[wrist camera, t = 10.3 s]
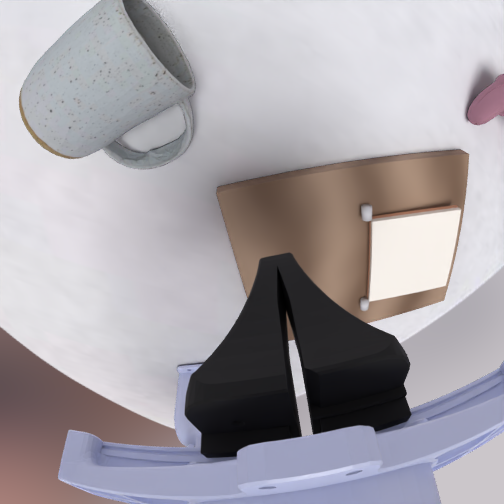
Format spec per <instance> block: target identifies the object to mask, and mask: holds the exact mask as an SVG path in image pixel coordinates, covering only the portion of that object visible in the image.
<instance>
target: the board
mask: <svg viewBox="0 0 504 504" xmlns="http://www.w3.org/2000/svg"><path fill="white" fill-rule="evenodd" d="M468 164H469V154H468V153H466V152H464V151H462V150H447V151H435V152H424V153H414V154H404V155H396V156H387V157H379V158H372V159H364V160H357V161H350V162H344V163H337V164H331V165H325V166H319V167H313V168H307V169H302V170H296V171H291V172H286V173H280V174H275V175H270V176H265V177H260V178H256V179H251V180H246V181H242V182H237V183H233V184H228V185H224V186H219V187H217V192H216V194H217V198H218V201H219V204H220V208H221V211H222V215H223V218H224V222H225V225H226V228H227V232H228V235H229V239H230V242H231V245H232V249H233V252H234V255H235V259H236V262H237V265H238V269H239V272H240V275H241V279H242V282H243V285H244V288H245V292H246V295H247V298H248V296H249V294H250V292H251V289H252V286H253V283H254V280H255V277H256V274H257V270H258V265H259V260H260V259H261V258H264V257H269V256H274V255H279V254H284V253H289V252H290V253H292V254H293V256H294V258H295V260H296V261H297V263H298V264H299V265H300V267H301V268H302V269H303V271H304V272H305V273H306V274H307V275H308V276H309V278H310V279H311V280H312V281H313V282H314V283H315V284H316V285H317V286H318V287H319V288H320V289H321V290H322V291H323V292H324V293H325V294H326V295H327V296H328V297H330V298H331V299H332V300H333V301H334V302H336V303H337V304H338V305H339V306H341V307H342V308H343V309H345V310H346V311H348V312H349V313H351V314H352V315H354V316H356V317H357V318H359V319H360V320H362V321H363V322H365V323H369V322H373V321H377V320H381V319H384V318H388V317H392V316H395V315H399V314H402V313H405V312H409V311H412V310H415V309H419V308H422V307H425V306H428V305H431V304H435V303H438V302H441V301H444V298H445V295H446V291H447V288H448V284H449V280H450V276H451V272H452V268H453V264H454V260H455V255H456V251H457V246H458V241H459V235H460V230H461V224H462V218H463V211H464V204H465V196H466V187H467V177H468ZM363 204H370V205H372V216H378V215H385V214H392V213H399V212H407V211H414V210H421V209H429V208H437V207H444V206H452V205H457V206H458V207H459V208H460V209H461V214H460V221H459V227H458V233H457V238H456V243H455V249H454V253H453V258H452V263H451V267H450V271H449V275H448V279H447V283H446V286H443V287H439V288H434V289H430V290H425V291H421V292H416V293H411V294H406V295H401V296H397V297H391V298H386V299H381V300H376V301H370V302H369V308H368V310H366V311H362V310H361V309H360V300H361V298H362V297H367V288H368V267H369V221H363V220H362V216H361V206H362V205H363ZM286 315H287V312H286ZM287 329H288V341H290V340H295V339H294V336H293V332H292V329H291V326H290V322H289V319H288V315H287Z"/></svg>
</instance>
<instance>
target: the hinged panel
mask: <svg viewBox="0 0 504 504" xmlns="http://www.w3.org/2000/svg"><path fill="white" fill-rule="evenodd" d="M460 214H461V209H460V208H459V207H458V206H457V205H452V206H444V207H437V208H429V209H421V210H414V211H407V212H399V213H392V214H385V215H378V216H372V205H370V204H363V205H362V206H361V216H362V220H363V221H369V267H368V288H367V297H362V298H361V300H360V309H361V310H362V311H366V310H368V308H369V302H370V301H376V300H381V299H386V298H391V297H397V296H401V295H406V294H411V293H416V292H421V291H425V290H430V289H434V288H439V287H443V286H446V283H447V279H448V275H449V271H450V267H451V263H452V258H453V253H454V249H455V243H456V238H457V233H458V227H459V221H460Z"/></svg>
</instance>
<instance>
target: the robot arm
mask: <svg viewBox="0 0 504 504" xmlns="http://www.w3.org/2000/svg"><path fill="white" fill-rule="evenodd" d="M286 312H287V315H288V319H289V322H290V326H291V329H292V332H293V336H294V339H295V342H296V346H297V349H298V353H299V357H300V361H301V367H302V372H303V378H304V384H305V389H306V395H307V401H308V406H309V412H310V418H311V425H312V432H313V435H309V436H304V437H302V434H301V428H300V422H299V415H298V409H297V403H296V396H295V390H294V384H293V378H292V371H291V365H290V357H289V344H288V329H287V315H286ZM409 367H410V362H409V359H408V357H407V354H406V353H405V351H404V349H403V348H402V346H401V345H400V343H399V342H398V340H397V339H396V337H395V336H393V335H391V334H389V333H386V332H384V331H382V330H379V329H377V328H375V327H373V326H371V325H369V324H367V323H365V322H363V321H362V320H360V319H359V318H357V317H356V316H354V315H352V314H351V313H349V312H348V311H346V310H345V309H343V308H342V307H341V306H339V305H338V304H337V303H336V302H334V301H333V300H332V299H331V298H330V297H328V296H327V295H326V294H325V293H324V292H323V291H322V290H321V289H320V288H319V287H318V286H317V285H316V284H315V283H314V282H313V281H312V280H311V279H310V278H309V276H308V275H307V274H306V273H305V272H304V271H303V269H302V268H301V267H300V265H299V264H298V263H297V261H296V260H295V258H294V256H293V254H292V253H290V252H289V253H284V254H279V255H274V256H269V257H264V258H261V259H260V260H259V265H258V270H257V274H256V277H255V280H254V283H253V286H252V289H251V292H250V294H249V296H248V299H247V301H246V303H245V305H244V308H243V309H242V311H241V313H240V315H239V317H238V319H237V320H236V322H235V324H234V325H233V327H232V328H231V330H230V332H229V333H228V335H227V336H226V337H225V339H224V340H223V341H222V343H221V344H220V345H219V346H218V347H217V349H216V350H215V351H214V352H213V353H212V355H211V356H210V357H209V358H208V359H207V360H206V361H205V362H204V363H203V364H196V365H186V366H178V367H177V371H178V373H179V380H178V388H177V397H176V405H175V415H174V421H175V429H176V433H177V436H178V438H179V440H180V441H181V443H182V444H183V445H185V446H188V447H185V448H184V447H153V446H139V445H127V444H118V443H110V442H102V440H100V439H99V438H98V437H96V436H95V435H92V434H90V433H86V432H80V431H74V430H69V431H68V435H67V439H66V443H65V448H64V451H63V456H62V460H61V465H60V469H59V474H58V478H59V480H61V481H63V482H66V483H68V484H70V485H72V486H74V487H77V488H79V489H81V490H84V491H86V492H89V493H91V494H94V495H97V496H100V497H105V498H108V499H112V500H117V501H121V502H126V503H130V504H441V501H440V497H439V493H438V489H437V485H436V482H435V478H434V474H433V471H435V470H438V469H440V468H441V467H443V466H446V465H448V464H450V463H451V462H453V461H455V460H457V459H459V458H461V457H463V456H465V455H466V454H468V453H470V452H472V451H473V450H475V449H477V448H479V447H480V446H482V445H483V444H485V443H487V442H488V441H490V440H491V439H493V438H495V437H496V436H498V435H499V434H501V433H502V432H504V361H503V362H502V364H501V366H500V368H498V369H497V370H495V371H493V372H491V373H489V374H487V375H486V376H484V377H482V378H480V379H478V380H476V381H474V382H472V383H470V384H468V385H466V386H464V387H462V388H460V389H457V390H455V391H453V392H451V393H449V394H446V395H444V396H442V397H439V398H437V399H434V400H432V401H430V402H427V403H424V404H422V405H419V406H417V407H414V408H411V409H410V408H409V406H408V403H407V400H406V398H405V396H406V394H407V392H406V389H405V387H404V381H405V379H406V376H407V374H408V371H409Z"/></svg>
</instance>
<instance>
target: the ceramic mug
mask: <svg viewBox="0 0 504 504" xmlns="http://www.w3.org/2000/svg"><path fill="white" fill-rule="evenodd" d="M194 92H195V80H194V77H193V73H192V71H191V68H190V65H189V63H188V61H187V59H186V57H185V56H184V54H183V52H182V50H181V47H180V46H179V44H178V42H177V41H176V39H175V37H174V36H173V34H172V33H171V31H170V29H169V28H168V27H167V25H166V24H165V23H164V21H163V20H162V19H161V17H160V16H159V15H158V13H157V12H156V11H155V10H154V9H153V8H152V6H151V5H150V4H149V3H147V2H146V1H145V0H101V1H100V2H98V3H97V4H96V5H95V6H94V7H92V8H91V9H90V10H89V11H88V12H86V13H85V14H84V15H83V16H82V17H81V18H80V19H79V20H78V21H76V22H75V23H74V24H73V25H72V26H71V27H70V28H69V29H68V30H67V31H66V32H65V33H64V34H63V35H62V36H61V37H60V38H59V39H58V40H57V41H56V42H55V43H54V44H53V45H52V46H51V47H50V48H49V49H48V50H47V51H46V52H45V54H44V55H43V56H42V57H41V58H40V59H39V60H38V61H37V63H36V64H35V65H34V67H33V68H32V70H31V71H30V73H29V75H28V76H27V78H26V80H25V82H24V84H23V86H22V88H21V91H20V96H19V108H20V113H21V116H22V120H23V122H24V124H25V126H26V128H27V130H28V131H29V132H30V134H31V135H32V137H33V138H34V139H35V140H36V142H37V143H38V144H40V145H41V146H42V147H43V148H44V149H46V150H48V151H49V152H51V153H53V154H55V155H57V156H61V157H64V158H68V159H76V158H82V157H85V156H88V155H90V154H92V153H94V152H96V151H98V150H100V149H103V150H104V151H105V153H106V154H107V155H109V157H110V158H112V159H114V160H115V161H116V162H118V163H120V164H122V165H124V166H126V167H129V168H134V169H152V168H156V167H160V166H163V165H166V164H168V163H170V162H172V161H173V160H175V159H177V158H178V157H180V156H181V155H182V154H183V153H184V152H185V151H186V149H187V148H188V146H189V144H190V142H191V138H192V134H193V114H192V110H191V106H190V103H189V99H188V97H190V96H191V95H193V94H194ZM174 104H178V105H179V106H180V107H181V108H182V110H183V113H184V118H185V123H186V130H185V132H184V134H183V135H181V136H180V137H179V139H177V140H175V141H173V142H171V143H169V144H167V145H165V146H163V147H161V148H158V149H155V150H150V151H148V152H147V153H137V152H133V151H130V150H128V149H127V148H125V147H122V146H121V145H120V144H119V143H117V142H116V141H115V140H116V139H117V138H119V137H120V136H121V135H123V134H124V133H126V132H127V131H129V130H130V129H132V128H133V127H135V126H137V125H139V124H140V123H142V122H144V121H146V120H148V119H149V118H151V117H153V116H155V115H156V114H158V113H160V112H162V111H163V110H165V109H167V108H169V107H171V106H173V105H174Z"/></svg>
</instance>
